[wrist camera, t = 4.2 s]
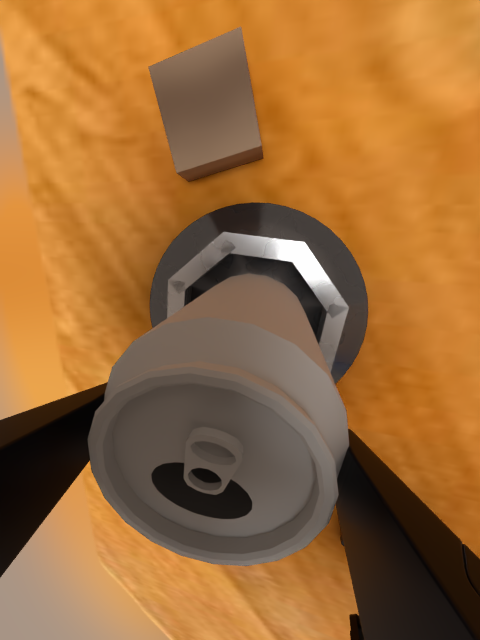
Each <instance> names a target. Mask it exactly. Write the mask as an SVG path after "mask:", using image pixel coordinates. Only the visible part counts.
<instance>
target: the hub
mask: <svg viewBox="0 0 480 640" xmlns="http://www.w3.org/2000/svg"><path fill="white" fill-rule="evenodd" d="M248 273H249V274H257V275H264V276H268V277H270V278H273V279H275V280H277V281H279V282H281V283H283V284H284V285H285V286H286V287H288V288H289V289H290V290H291V291H292V292H293V293H294V294H295V295H296V296H297V298H298V300H299V302H300V303H301V305H302V307H303V309H304V311H305V313H306V316H307V318H308V321H309V323H310V325H311V328H312V330H313V333H314V335H315V337H316V340H317V342H318V344H319V347H320V349H321V352H322V354H323V356H324V359H325V361H326V364H327V366H328V368H329V371H330V373H331V375H332V378H333V380H334V383H336V382H337V381H338V380H339V379H340V378H341V377H342V376H343V375H344V374H345V373H346V371H347V370H348V369H349V367H350V366H351V365H352V363H353V361H354V360H355V358H356V356H357V354H358V352H359V350H360V347H361V345H362V342H363V340H364V335H365V331H366V327H367V318H368V300H367V293H366V288H365V283H364V280H363V277H362V274H361V272H360V269H359V267H358V265H357V263H356V261H355V259H354V257H353V256H352V254H351V252H350V251H349V250H348V248H347V247H346V246H345V244H344V243H343V242H342V241H341V240H340V239H339V238H338V237H337V236H336V235H335V234H334V233H333V232H332V231H331V230H330V229H329V228H327V227H326V226H325V225H323V224H322V223H321V222H319V221H318V220H316V219H314V218H313V217H311V216H309V215H307V214H305V213H303V212H301V211H298V210H295V209H292V208H289V207H286V206H281V205H276V204H271V203H245V204H236V205H232V206H228V207H224V208H221V209H218V210H216V211H213V212H211V213H209V214H206V215H205V216H203V217H201V218H200V219H198V220H196V221H195V222H193V223H192V224H191V225H189V226H188V227H187V228H186V229H184V230H183V231H182V232H181V233H180V234H179V235H178V236H177V237H176V238H175V239H174V241H173V242H172V243H171V244H170V246H169V247H168V249H167V250H166V252H165V253H164V255H163V257H162V259H161V261H160V263H159V265H158V267H157V270H156V272H155V275H154V278H153V283H152V288H151V295H150V315H151V322H152V327H153V328H154V327H155V326H157V325H158V324H160V323H161V322H163V321H164V320H166V319H167V318H168V317H170V316H171V315H173V314H174V313H176V312H177V311H179V310H180V309H182V308H183V307H185V306H186V305H187V304H189V303H190V302H192V301H193V300H195V299H196V298H198V297H199V296H201V295H202V294H204V293H205V292H206V291H208V290H209V289H211V288H212V287H214V286H215V285H217V284H219V283H221V282H222V281H224V280H226V279H228V278H229V277H232V276H237V275H243V274H248Z"/></svg>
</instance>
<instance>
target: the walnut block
mask: <svg viewBox="0 0 480 640" xmlns="http://www.w3.org/2000/svg"><path fill="white" fill-rule="evenodd" d="M149 71H150V75H151V79H152V82H153V86H154V90H155V94H156V97H157V101H158V105H159V109H160V112H161V116H162V120H163V124H164V127H165V131H166V135H167V139H168V142H169V146H170V150H171V154H172V158H173V161H174V165H175V169H176V173H177V174H179V175H180V176H182V177H183V178H184V179H186V180H187V181H192V180H195V179H198V178H201V177H205V176H208V175H211V174H214V173H217V172H221V171H224V170H227V169H230V168H234V167H237V166H240V165H243V164H246V163H250V162H253V161H256V160H259V159H262V158H263V152H262V145H261V139H260V133H259V128H258V122H257V116H256V110H255V104H254V99H253V93H252V87H251V81H250V75H249V70H248V64H247V58H246V52H245V46H244V41H243V35H242V29H241V27H239V28H237V29H234V30H232V31H230V32H228V33H225V34H223V35H221V36H218V37H216V38H214V39H211V40H209V41H207V42H205V43H202V44H200V45H198V46H195V47H193V48H191V49H188V50H186V51H184V52H181V53H179V54H177V55H175V56H172V57H170V58H168V59H165V60H163V61H161V62H158V63H156V64H154V65H152V66H149Z"/></svg>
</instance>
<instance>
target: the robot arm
mask: <svg viewBox="0 0 480 640" xmlns="http://www.w3.org/2000/svg"><path fill="white" fill-rule="evenodd" d="M107 384H108V382H107V383H104V384H102V385H99V386H96V387H93V388H90V389H87V390H85V391H82V392H79V393H76V394H73V395H70V396H67V397H65V398H62V399H59V400H56V401H53V402H50V403H48V404H45V405H42V406H39V407H36V408H33V409H31V410H28V411H25V412H22V413H19V414H16V415H14V416H11V417H8V418H5V419H2V420H0V577H1V576H2V575H3V573H4V572H5V571H6V569H7V568H8V567H9V566H10V564H11V563H12V562H13V560H14V559H15V558H16V556H17V555H18V554H19V552H20V551H21V550H22V548H23V547H24V546H25V545H26V543H27V542H28V541H29V539H30V538H31V537H32V535H33V534H34V533H35V531H36V530H37V529H38V528H39V526H40V525H41V524H42V522H43V521H44V520H45V518H46V517H47V516H48V514H49V513H50V512H51V510H52V509H53V508H54V507H55V505H56V504H57V503H58V501H59V500H60V499H61V497H62V496H63V495H64V493H65V492H66V491H67V490H68V488H69V487H70V485H71V484H72V483H73V482H74V480H75V479H76V478H77V476H78V475H79V474H80V473H81V471H82V470H83V469H84V467H85V466H86V465H87V463H88V462H89V461H90V455H89V447H88V436H89V432H90V429H91V425H92V421H93V418H94V414H95V411H96V410H97V409H98V408H99V407H100V405H101V404H102V403H103V402H104V395H105V391H106V387H107ZM348 436H349V447H348V449H347V452H346V455H345V458H344V461H343V463H342V466H341V469H340V472H339V475H338V478H337V485H338V494H339V495H338V498H337V501H336V503H335V504H336V509H337V514H338V519H339V523H340V528H341V533H342V535H341V538H340V539H341V543H342V545H343V546H344V547H345V551H346V556H347V561H348V565H349V570H350V575H351V579H352V584H353V589H354V594H355V598H356V603H357V608H358V612H359V615H357V614H351V615H350V626H351V631H350V636H351V640H480V559H479V558H478V557H477V556H476V555H475V554H474V553H473V552H472V551H471V550H470V549H469V548H468V547H467V546H466V545H465V544H462V541H461V540H460V539H459V538H458V537H457V536H456V535H455V534H454V533H453V532H452V531H451V530H450V529H449V528H448V527H447V526H446V525H445V524H444V523H443V522H442V521H441V520H440V519H439V518H438V517H437V516H436V515H435V514H434V513H433V512H432V511H431V510H430V509H429V508H428V507H427V506H426V505H425V504H424V503H423V502H422V501H421V500H420V499H419V498H418V497H417V496H416V495H415V494H414V493H413V492H412V491H411V490H410V489H409V488H408V487H407V486H406V485H405V484H404V483H403V482H402V481H401V480H400V479H399V478H398V477H397V476H396V475H395V474H394V473H393V472H392V471H391V470H390V469H389V468H388V466H387V465H386V464H385V463H384V462H383V461H382V460H381V459H380V458H379V457H378V456H377V455H376V454H375V453H374V452H373V451H372V450H371V449H370V448H369V447H368V446H367V445H366V444H365V443H364V442H363V441H362V440H361V439H360V438H359V437H358V436H357V435H356V434H355V433H354V432H353V431H352V430H350V429H348Z"/></svg>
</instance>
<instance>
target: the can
mask: <svg viewBox="0 0 480 640" xmlns="http://www.w3.org/2000/svg"><path fill="white" fill-rule="evenodd" d="M88 447H89V455H90V463H91V470H92V473H93V475H94V477H95V479H96V481H97V483H98V485H99V487H100V489H101V491H102V493H103V496H104V498H105V499H106V500H107V501H108V502H109V504H110V505H111V506H112V507H113V508H114V509H115V511H116V512H117V513H118V514H119V515H120V516H121V518H122V519H123V520H124V521H125V522H126V523H128V524H129V525H130V526H132V527H133V528H134V529H136V530H137V531H138V532H140V533H141V534H142V535H144V536H145V537H146V538H148V539H149V540H150V541H152V542H154V543H156V544H158V545H160V546H162V547H164V548H166V549H169V550H171V551H173V552H175V553H177V554H179V555H181V556H185V557H189V558H192V559H196V560H200V561H204V562H208V563H211V564H221V565H238V566H249V565H255V564H261V563H267V562H273V561H278V560H280V559H282V558H284V557H286V556H288V555H290V554H292V553H295V552H297V551H299V550H301V549H303V548H305V547H306V546H307V545H308V544H309V543H310V542H311V541H312V540H313V539H314V538H315V537H316V536H317V535H318V534H319V533H320V532H321V531H322V530H323V529H324V528H325V527H326V526H327V524H328V523H329V521H330V518H331V515H332V512H333V509H334V506H335V503H336V501H337V498H338V495H339V494H338V485H337V478H338V475H339V472H340V469H341V466H342V463H343V461H344V458H345V455H346V452H347V449H348V447H349V436H348V425H347V414H346V409H345V406H344V404H343V402H342V399H341V397H340V394H339V392H338V390H337V387H336V385H335V383H334V380H333V378H332V375H331V373H330V371H329V368H328V366H327V364H326V361H325V359H324V356H323V354H322V352H321V349H320V347H319V344H318V342H317V340H316V337H315V335H314V333H313V330H312V328H311V325H310V323H309V321H308V318H307V316H306V313H305V311H304V309H303V307H302V305H301V303H300V302H299V300H298V298H297V296H296V295H295V294H294V293H293V292H292V291H291V290H290V289H289V288H288V287H286V286H285V285H284V284H283V283H281V282H279V281H277V280H275V279H273V278H270V277H268V276H264V275H257V274H249V273H248V274H243V275H237V276H232V277H229V278H228V279H226V280H224V281H222V282H221V283H219V284H217V285H215V286H214V287H212V288H211V289H209V290H208V291H206V292H205V293H204V294H202V295H201V296H199V297H198V298H196V299H195V300H193V301H192V302H190V303H189V304H187V305H186V306H185V307H183V308H182V309H180V310H179V311H177V312H176V313H174V314H173V315H171V316H170V317H168V318H167V319H166V320H164V321H163V322H161V323H160V324H158V325H157V326H155V327H154V328H152V329H151V330H149V331H148V332H147V333H145V334H144V335H142V336H141V337H139V338H138V339H136V340H135V341H133V342H132V344H131V345H130V346H129V347H128V349H127V350H126V351H125V352H124V354H123V355H122V356H121V357H120V358H119V360H118V361H117V362H116V363H115V365H114V366H113V367H112V370H111V373H110V377H109V380H108V384H107V387H106V391H105V395H104V402H103V403H102V404H101V405H100V407H99V408H98V409H97V410H96V411H95V414H94V418H93V421H92V425H91V429H90V432H89V436H88Z"/></svg>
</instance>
